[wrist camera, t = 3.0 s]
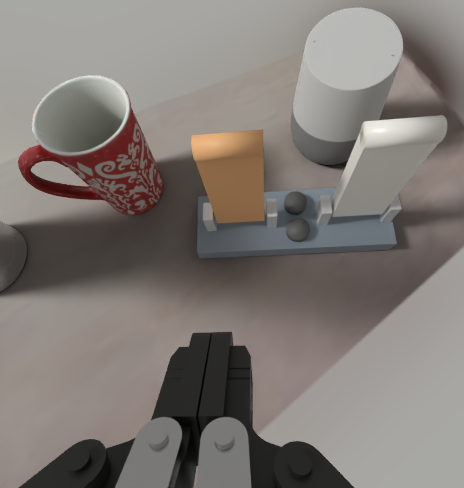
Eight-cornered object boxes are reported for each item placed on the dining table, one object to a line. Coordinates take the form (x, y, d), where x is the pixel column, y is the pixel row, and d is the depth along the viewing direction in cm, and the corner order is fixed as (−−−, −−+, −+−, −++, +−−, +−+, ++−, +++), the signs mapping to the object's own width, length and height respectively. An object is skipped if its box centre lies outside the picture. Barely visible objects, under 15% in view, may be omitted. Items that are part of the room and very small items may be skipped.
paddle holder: (200, 258, 37) (190, 244, 32) (201, 204, 39) (192, 182, 35) (390, 249, 35) (409, 232, 30) (378, 193, 37) (395, 169, 33)
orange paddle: (217, 224, 34) (190, 151, 22) (217, 209, 35) (191, 129, 23) (264, 222, 34) (263, 145, 22) (263, 206, 35) (262, 124, 22)
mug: (156, 148, 43) (111, 59, 30) (182, 201, 40) (143, 127, 27) (68, 188, 42) (-16, 115, 29) (88, 246, 39) (2, 191, 26)
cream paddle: (332, 218, 33) (369, 137, 21) (330, 202, 34) (365, 115, 22) (382, 215, 33) (449, 131, 21) (379, 199, 33) (443, 109, 21)
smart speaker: (279, 161, 40) (285, 65, 27) (301, 105, 43) (316, -8, 30) (355, 181, 38) (401, 89, 25) (373, 121, 41) (424, 8, 28)
